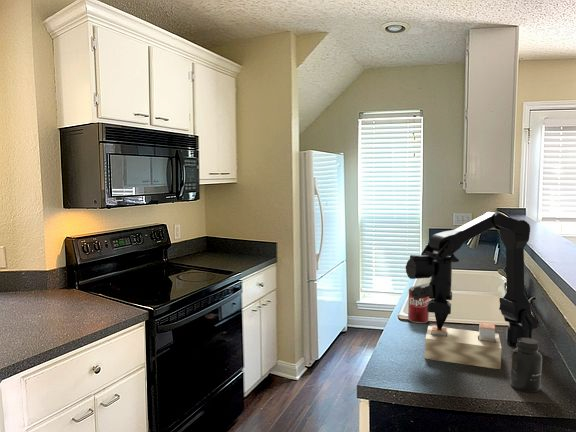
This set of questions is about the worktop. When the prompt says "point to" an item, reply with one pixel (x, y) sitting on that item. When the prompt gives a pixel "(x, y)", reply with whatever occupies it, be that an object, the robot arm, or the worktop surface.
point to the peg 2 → (487, 332)
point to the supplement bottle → (526, 365)
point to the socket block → (463, 348)
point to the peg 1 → (439, 331)
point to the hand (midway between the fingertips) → (439, 328)
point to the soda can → (418, 309)
